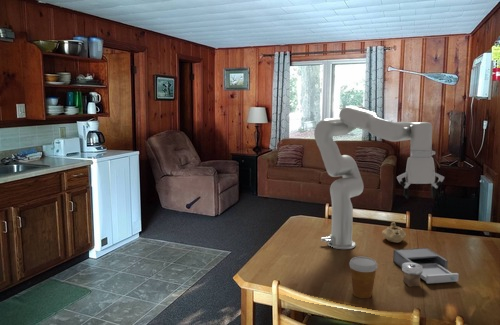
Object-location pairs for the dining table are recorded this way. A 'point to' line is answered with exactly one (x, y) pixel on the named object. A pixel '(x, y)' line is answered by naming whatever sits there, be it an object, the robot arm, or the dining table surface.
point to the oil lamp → (394, 233)
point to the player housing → (418, 257)
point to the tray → (437, 274)
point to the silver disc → (412, 268)
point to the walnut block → (412, 279)
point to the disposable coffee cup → (363, 276)
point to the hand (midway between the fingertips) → (419, 197)
